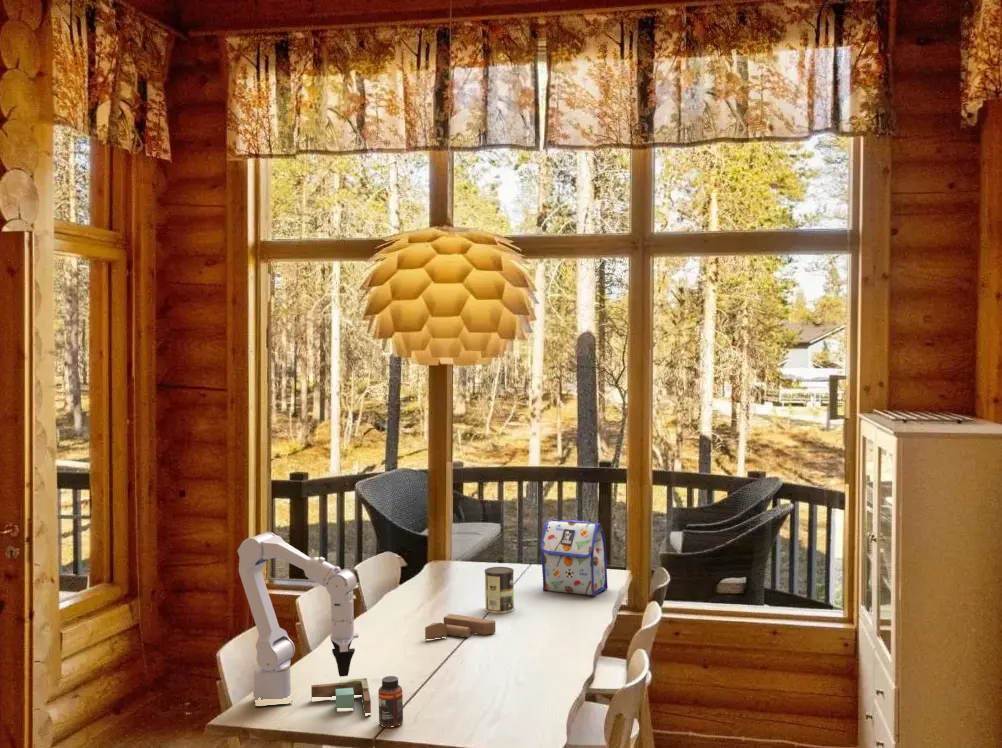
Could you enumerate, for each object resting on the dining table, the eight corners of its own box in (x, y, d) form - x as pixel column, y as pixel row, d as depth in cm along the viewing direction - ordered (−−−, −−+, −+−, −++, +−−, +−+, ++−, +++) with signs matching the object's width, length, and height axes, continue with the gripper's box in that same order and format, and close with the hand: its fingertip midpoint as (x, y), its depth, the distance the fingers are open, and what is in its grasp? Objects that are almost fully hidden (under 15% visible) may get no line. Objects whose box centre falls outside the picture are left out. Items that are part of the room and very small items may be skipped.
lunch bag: (537, 592, 343) (536, 522, 342) (555, 582, 357) (554, 514, 357) (593, 599, 332) (592, 527, 331) (609, 588, 347) (609, 519, 346)
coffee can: (514, 605, 326) (513, 566, 325) (513, 613, 316) (513, 573, 315) (485, 605, 326) (485, 566, 326) (484, 613, 316) (484, 573, 315)
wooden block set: (447, 610, 302) (496, 616, 295) (447, 627, 302) (496, 633, 295) (422, 624, 287) (472, 631, 279) (422, 641, 287) (473, 649, 279)
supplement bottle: (404, 718, 227) (403, 673, 227) (402, 728, 221) (401, 682, 221) (380, 719, 227) (379, 674, 226) (377, 729, 221) (377, 683, 220)
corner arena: (312, 721, 226) (311, 703, 225) (311, 700, 239) (311, 683, 239) (370, 715, 229) (370, 697, 229) (366, 695, 242) (366, 678, 242)
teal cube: (354, 711, 232) (353, 694, 232) (336, 713, 231) (336, 695, 231) (353, 704, 236) (353, 687, 236) (335, 706, 235) (335, 689, 235)
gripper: (359, 625, 227) (360, 679, 227) (356, 609, 241) (356, 659, 241) (331, 627, 225) (331, 681, 226) (329, 611, 239) (330, 662, 240)
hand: (343, 670), depth 233 cm, fingers open, 7 cm apart
